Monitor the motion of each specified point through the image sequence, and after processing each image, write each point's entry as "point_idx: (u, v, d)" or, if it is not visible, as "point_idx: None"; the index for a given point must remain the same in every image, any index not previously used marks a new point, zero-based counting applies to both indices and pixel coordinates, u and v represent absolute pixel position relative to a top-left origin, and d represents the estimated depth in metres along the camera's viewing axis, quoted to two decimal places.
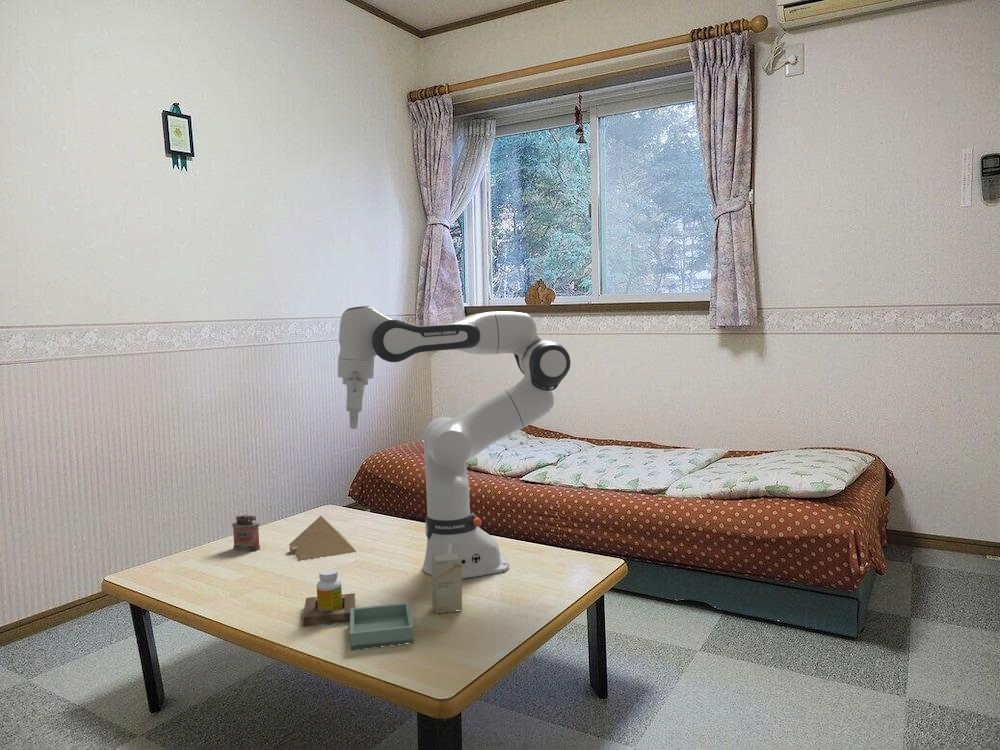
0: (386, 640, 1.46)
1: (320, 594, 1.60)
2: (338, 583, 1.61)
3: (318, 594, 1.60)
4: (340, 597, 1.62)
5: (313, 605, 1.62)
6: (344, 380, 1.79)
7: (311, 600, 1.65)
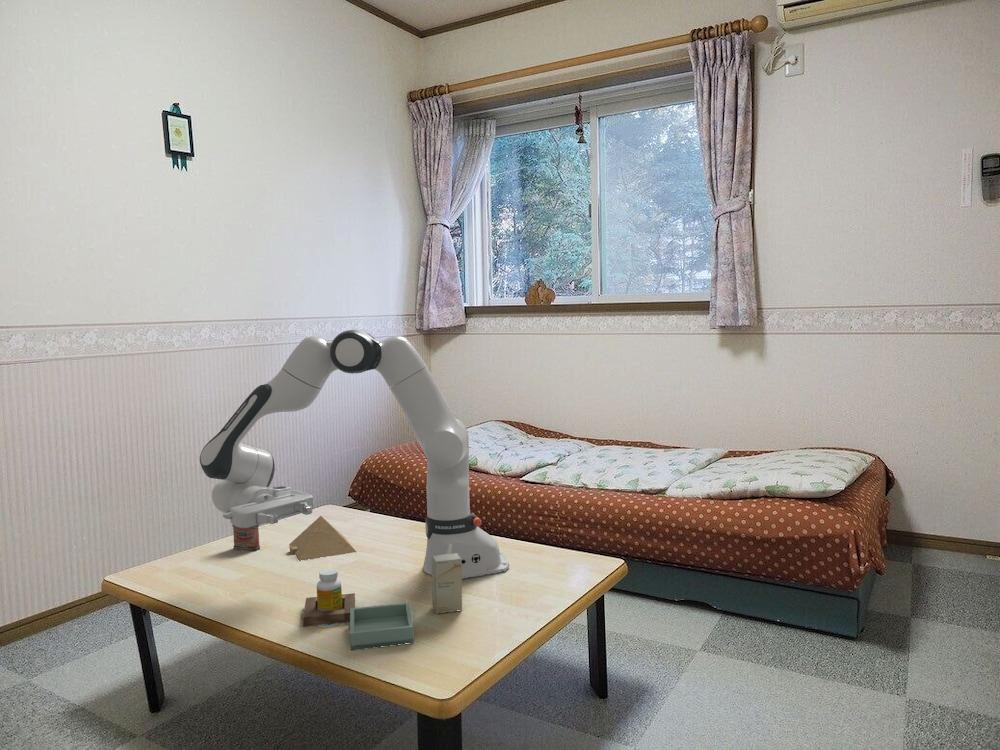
0: (386, 640, 1.46)
1: (320, 594, 1.60)
2: (338, 583, 1.61)
3: (318, 594, 1.60)
4: (340, 597, 1.62)
5: (313, 605, 1.62)
6: None
7: (311, 600, 1.65)
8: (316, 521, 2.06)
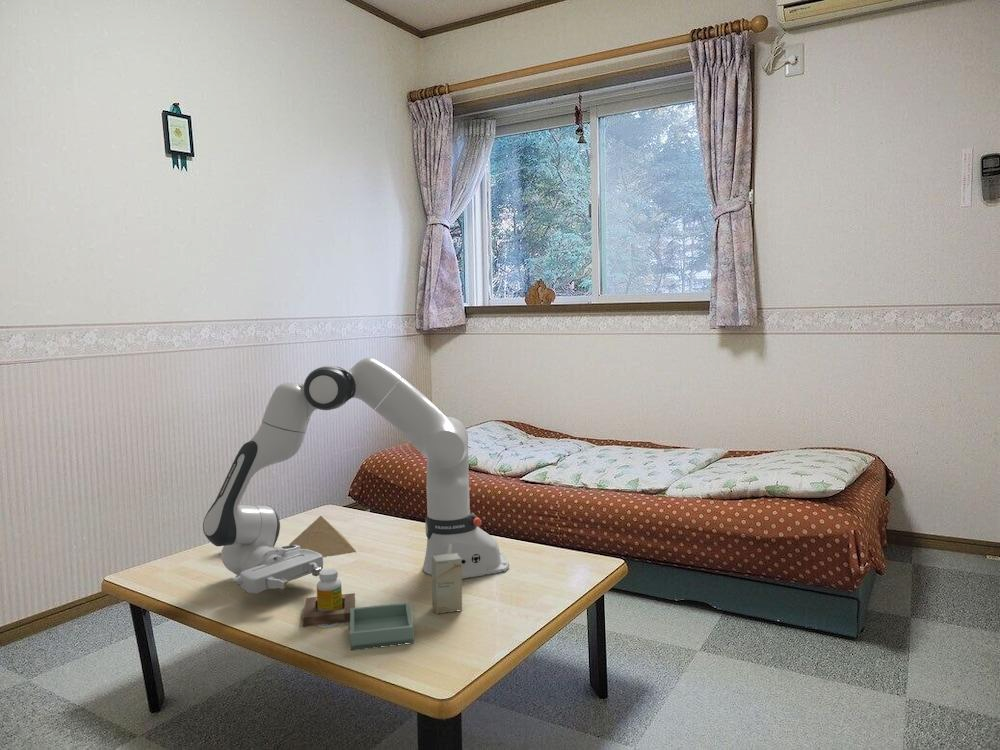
0: (386, 640, 1.46)
1: (320, 594, 1.60)
2: (338, 583, 1.61)
3: (318, 594, 1.60)
4: (340, 597, 1.62)
5: (313, 605, 1.62)
6: None
7: (311, 600, 1.65)
8: (316, 521, 2.07)
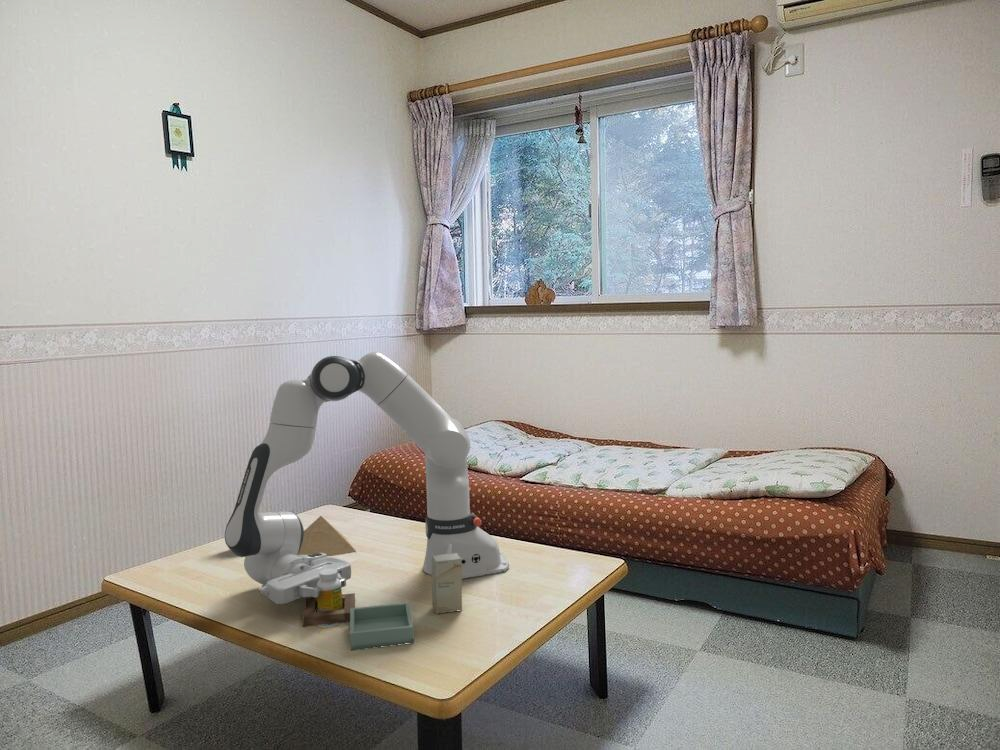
0: (386, 640, 1.46)
1: None
2: (338, 583, 1.61)
3: None
4: (340, 597, 1.62)
5: (313, 605, 1.62)
6: None
7: (311, 600, 1.65)
8: (316, 521, 2.06)
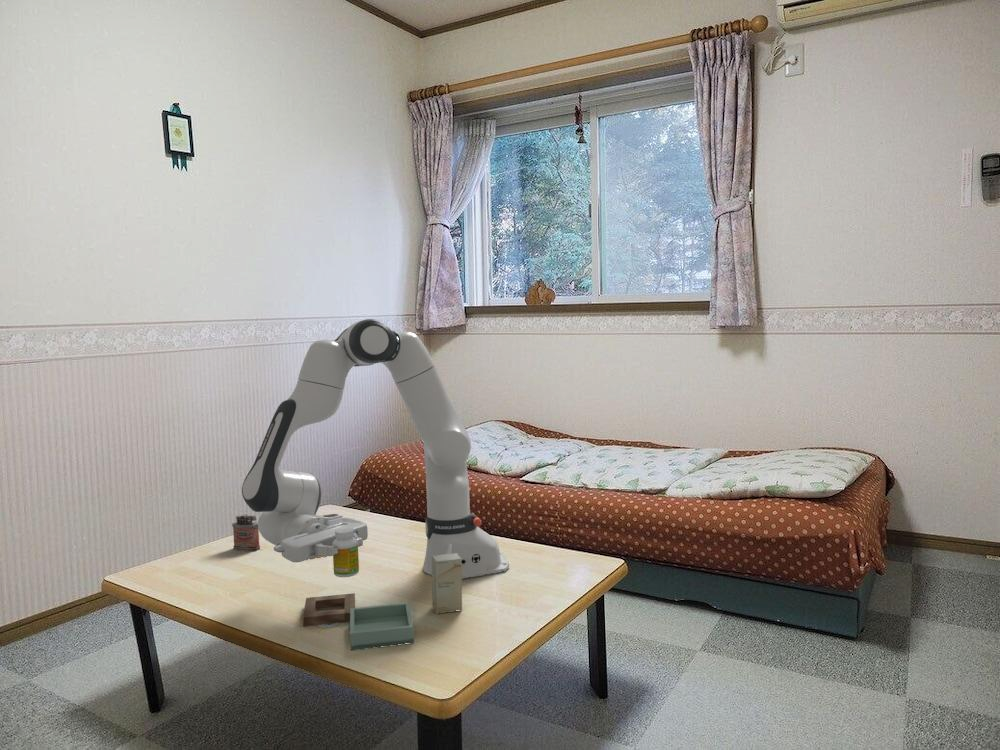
0: (386, 640, 1.46)
1: None
2: (354, 542, 1.56)
3: None
4: (357, 556, 1.57)
5: (313, 605, 1.62)
6: None
7: (311, 600, 1.65)
8: None
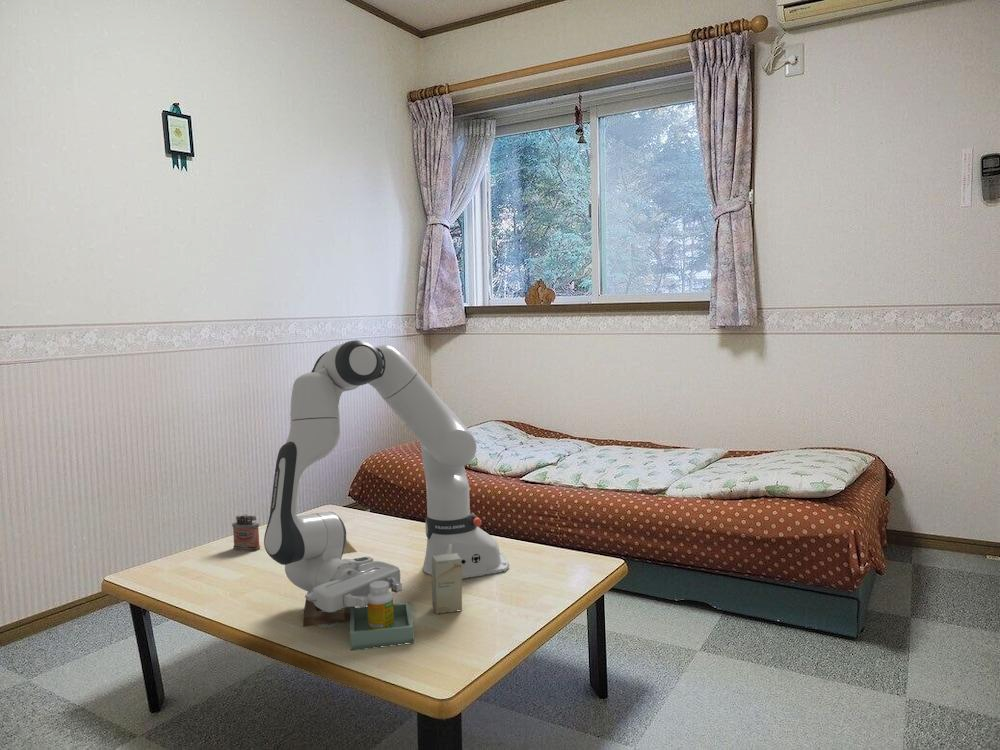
0: (386, 640, 1.46)
1: (371, 608, 1.49)
2: (390, 597, 1.50)
3: (369, 608, 1.50)
4: (392, 611, 1.51)
5: (313, 605, 1.62)
6: None
7: None
8: None
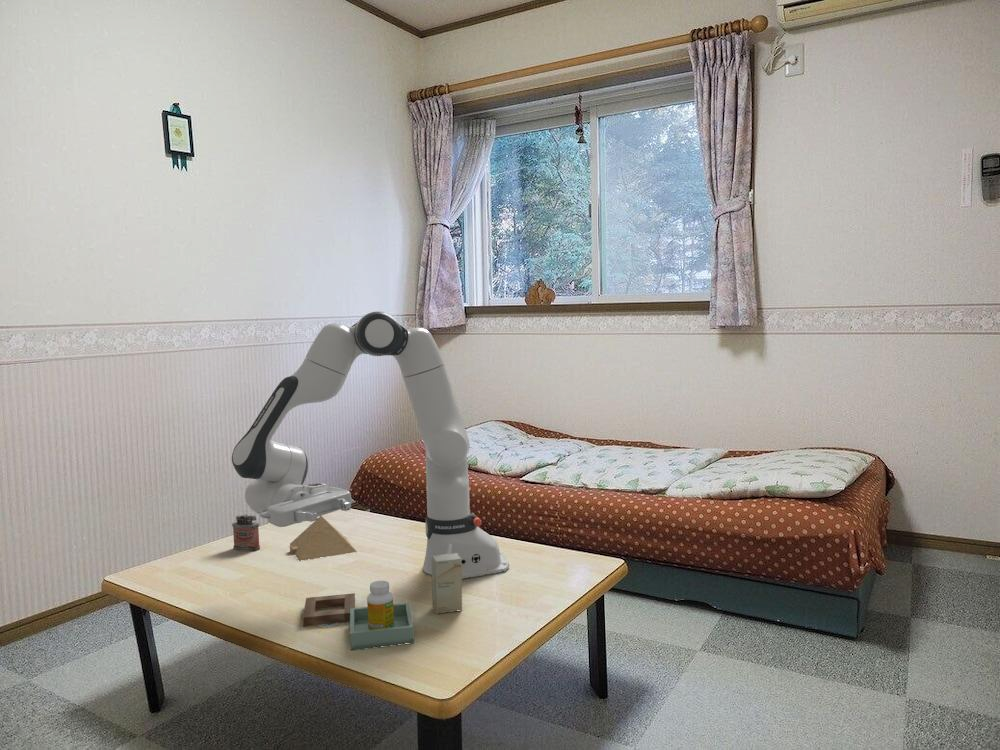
0: (386, 640, 1.46)
1: (371, 608, 1.49)
2: (390, 597, 1.50)
3: (369, 608, 1.50)
4: (392, 611, 1.51)
5: (313, 605, 1.62)
6: None
7: (311, 600, 1.65)
8: (316, 521, 2.07)
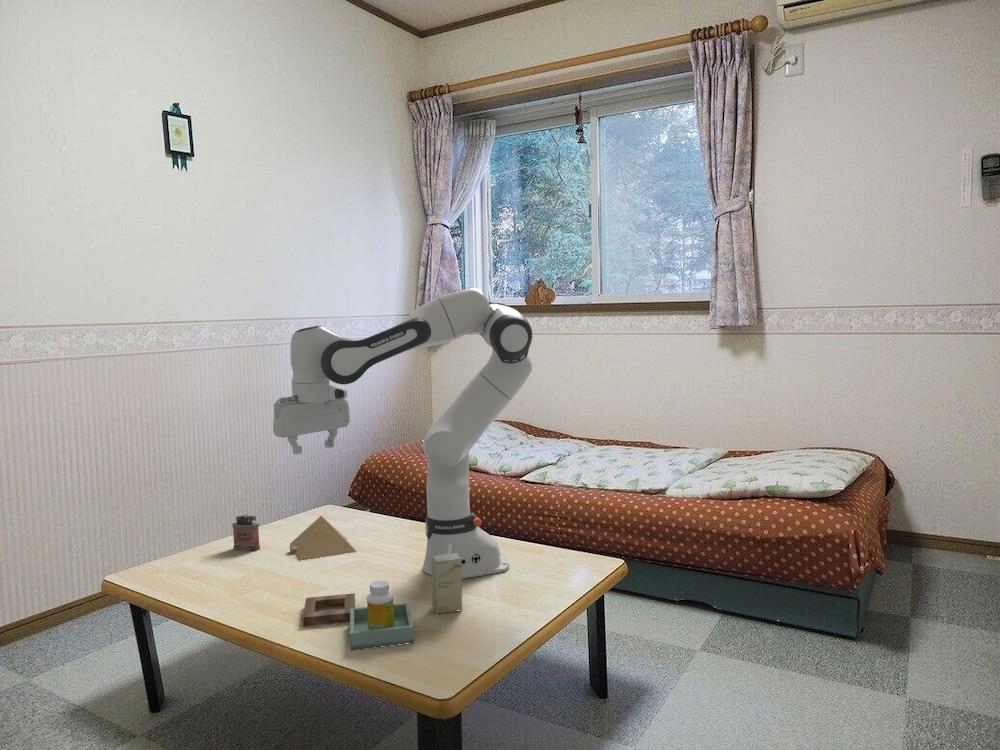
0: (386, 640, 1.46)
1: (371, 608, 1.49)
2: (390, 597, 1.50)
3: (369, 608, 1.50)
4: (392, 611, 1.51)
5: (313, 605, 1.62)
6: None
7: (311, 600, 1.65)
8: (316, 521, 2.07)
